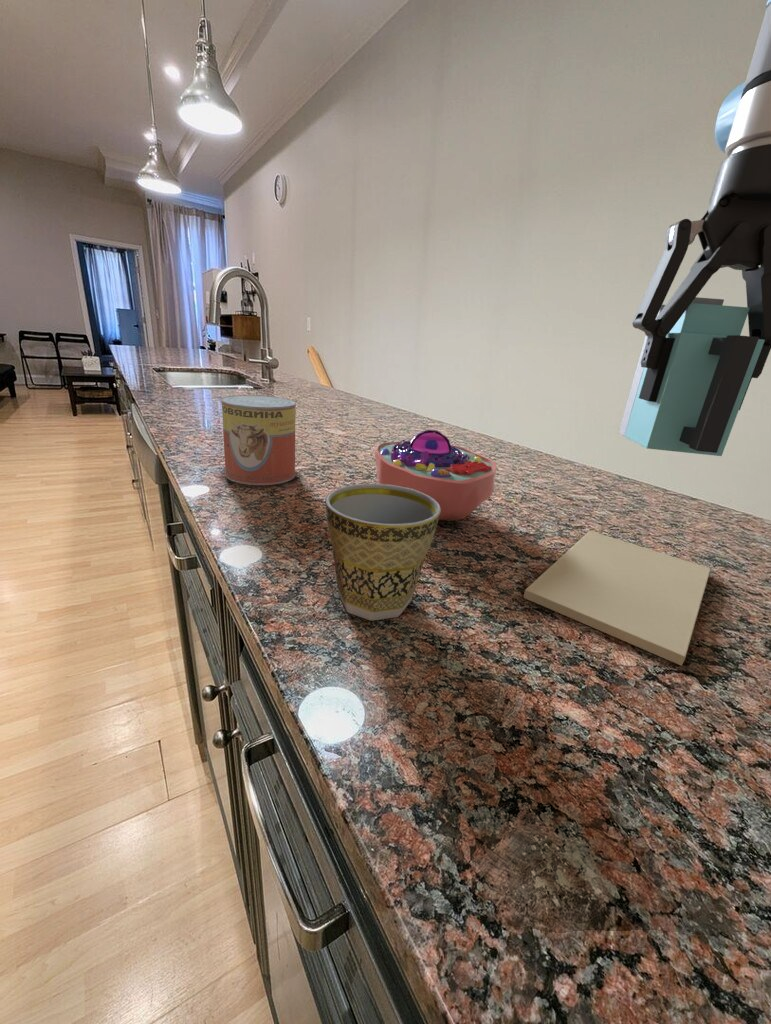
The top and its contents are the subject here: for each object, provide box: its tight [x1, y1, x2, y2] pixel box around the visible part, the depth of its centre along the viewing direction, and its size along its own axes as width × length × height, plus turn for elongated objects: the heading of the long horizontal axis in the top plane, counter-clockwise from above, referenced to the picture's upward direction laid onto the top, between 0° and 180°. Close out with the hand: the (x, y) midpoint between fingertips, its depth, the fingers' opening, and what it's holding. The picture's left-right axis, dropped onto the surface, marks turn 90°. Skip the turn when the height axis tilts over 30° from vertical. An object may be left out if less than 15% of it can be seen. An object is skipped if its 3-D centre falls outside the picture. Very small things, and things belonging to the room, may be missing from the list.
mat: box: [523, 530, 711, 666], centre depth 49 cm, size 22×14×1 cm, turn 141°
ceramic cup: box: [324, 483, 441, 622], centre depth 42 cm, size 13×10×10 cm
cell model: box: [373, 429, 497, 522], centre depth 62 cm, size 17×20×11 cm
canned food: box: [220, 394, 297, 486], centre depth 72 cm, size 11×11×12 cm
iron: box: [618, 296, 765, 457], centre depth 48 cm, size 16×8×12 cm
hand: (687, 403), depth 50 cm, fingers closed on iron, 8 cm apart
